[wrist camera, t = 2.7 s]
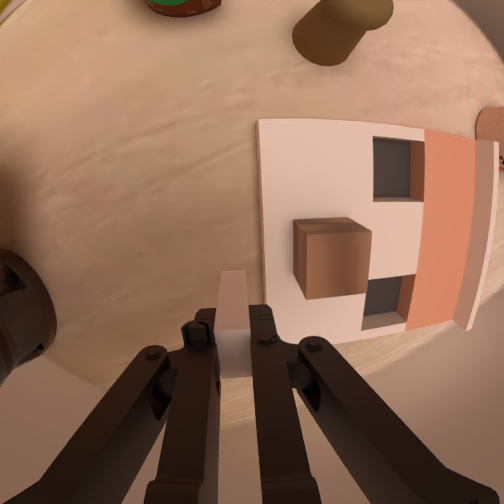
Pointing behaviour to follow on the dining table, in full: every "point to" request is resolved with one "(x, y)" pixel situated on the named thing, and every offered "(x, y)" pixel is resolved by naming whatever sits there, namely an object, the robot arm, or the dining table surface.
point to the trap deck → (378, 222)
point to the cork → (338, 28)
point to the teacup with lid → (492, 129)
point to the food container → (182, 7)
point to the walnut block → (331, 257)
